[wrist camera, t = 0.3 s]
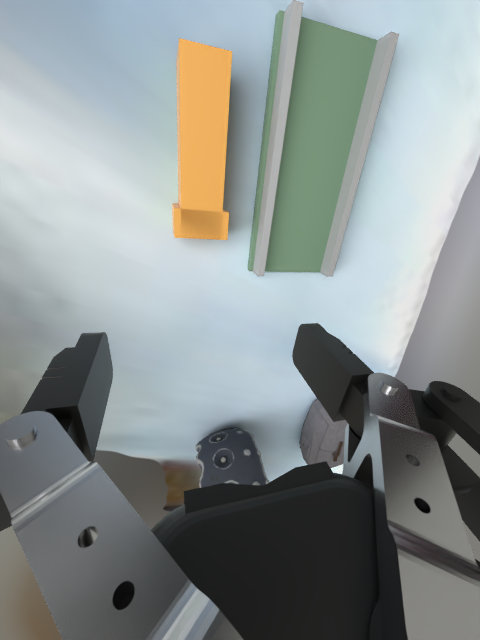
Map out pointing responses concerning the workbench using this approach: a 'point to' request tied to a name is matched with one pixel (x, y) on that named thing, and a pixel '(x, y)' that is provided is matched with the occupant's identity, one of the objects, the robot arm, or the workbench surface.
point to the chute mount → (314, 140)
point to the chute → (201, 140)
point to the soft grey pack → (322, 437)
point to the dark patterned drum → (230, 459)
